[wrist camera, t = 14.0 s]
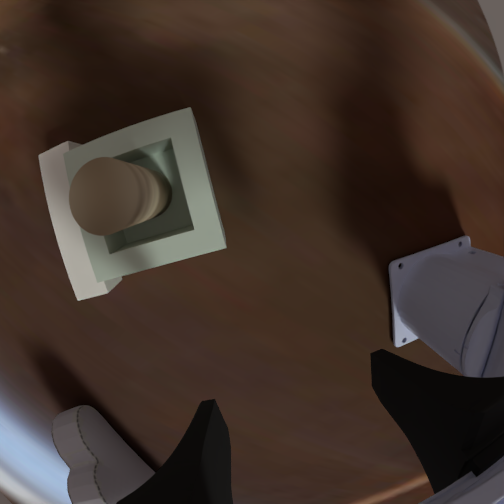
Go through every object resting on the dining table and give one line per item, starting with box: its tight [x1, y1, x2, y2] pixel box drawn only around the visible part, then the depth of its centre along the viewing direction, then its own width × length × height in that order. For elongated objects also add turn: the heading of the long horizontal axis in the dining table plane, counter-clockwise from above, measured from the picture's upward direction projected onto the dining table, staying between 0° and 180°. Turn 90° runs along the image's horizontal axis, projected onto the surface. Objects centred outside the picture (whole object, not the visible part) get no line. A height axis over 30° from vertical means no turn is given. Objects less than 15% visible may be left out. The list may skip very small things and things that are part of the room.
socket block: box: [63, 107, 226, 283], centre depth 17 cm, size 8×8×4 cm
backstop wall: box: [38, 141, 122, 301], centre depth 17 cm, size 2×10×3 cm, turn 14°
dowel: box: [69, 157, 172, 236], centre depth 15 cm, size 3×3×8 cm
